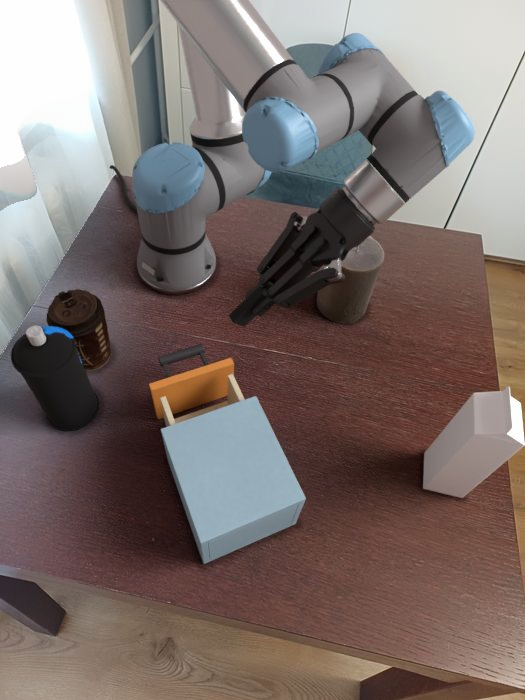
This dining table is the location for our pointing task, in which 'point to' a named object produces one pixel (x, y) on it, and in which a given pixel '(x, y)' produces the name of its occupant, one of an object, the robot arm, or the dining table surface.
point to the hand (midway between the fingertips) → (236, 321)
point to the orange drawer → (193, 386)
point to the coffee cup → (82, 325)
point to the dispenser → (232, 477)
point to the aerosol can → (56, 376)
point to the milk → (474, 443)
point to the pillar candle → (353, 284)
